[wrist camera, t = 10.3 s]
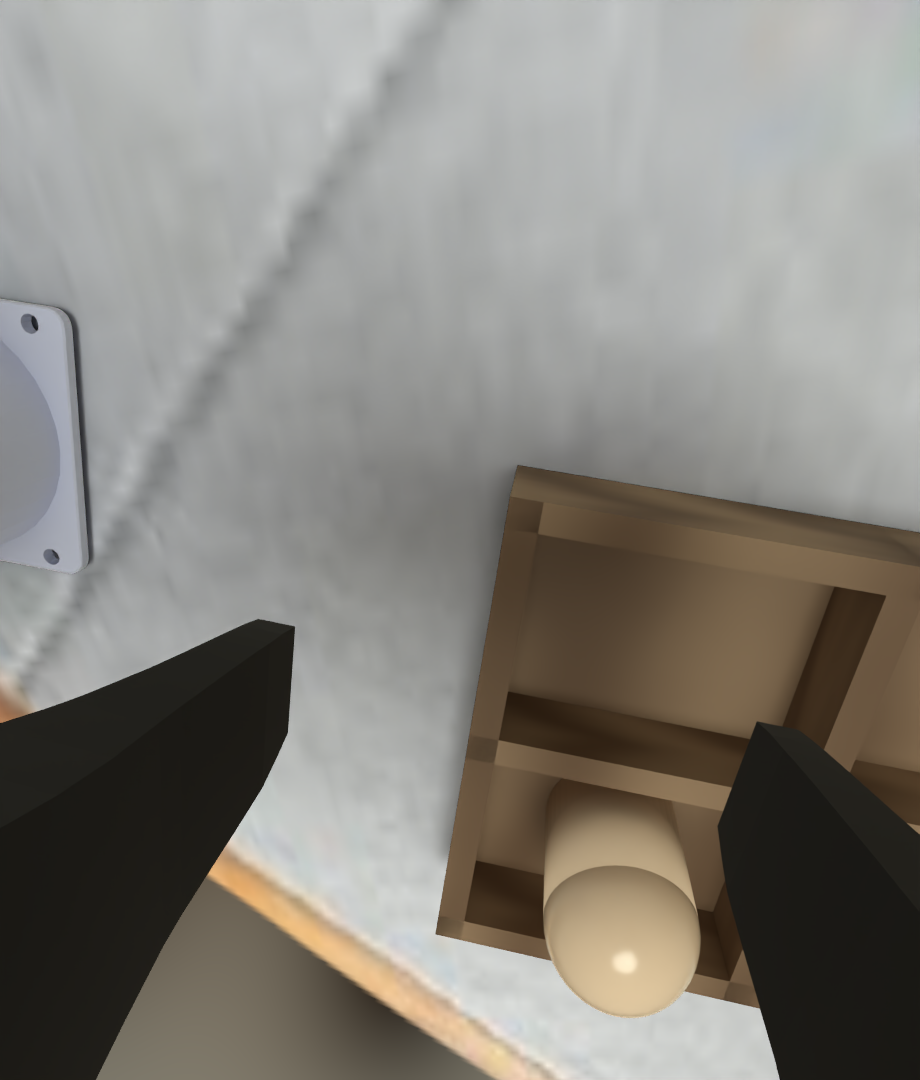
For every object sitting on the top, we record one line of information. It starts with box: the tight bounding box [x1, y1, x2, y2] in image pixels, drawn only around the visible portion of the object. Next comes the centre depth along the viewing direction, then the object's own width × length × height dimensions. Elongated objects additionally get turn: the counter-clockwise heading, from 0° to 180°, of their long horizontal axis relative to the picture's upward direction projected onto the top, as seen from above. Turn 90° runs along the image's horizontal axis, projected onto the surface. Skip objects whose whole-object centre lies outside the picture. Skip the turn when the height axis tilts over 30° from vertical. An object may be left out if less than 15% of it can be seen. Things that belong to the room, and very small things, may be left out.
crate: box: [436, 465, 920, 1008], centre depth 19 cm, size 18×14×3 cm
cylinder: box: [543, 778, 701, 1018], centre depth 19 cm, size 4×4×6 cm
